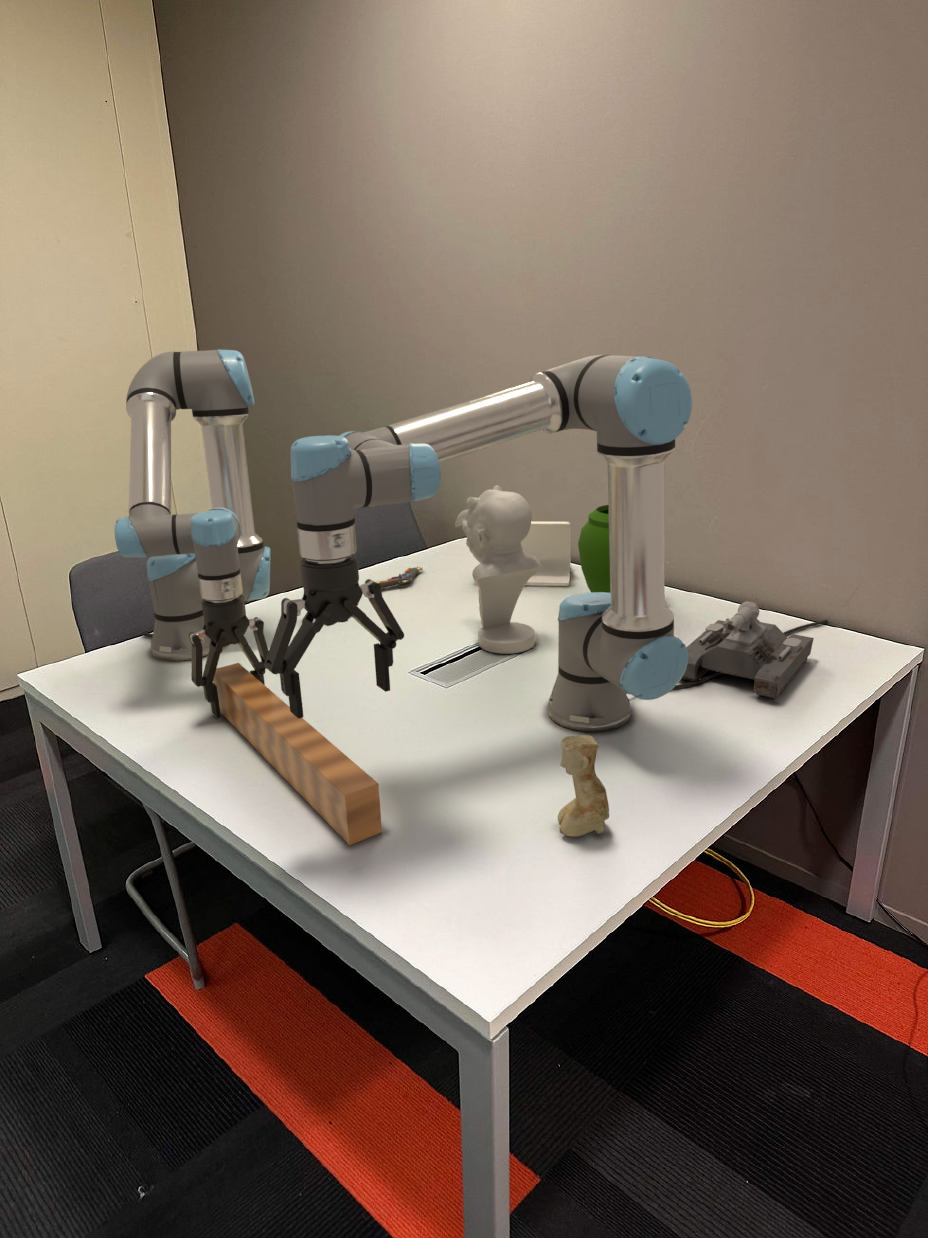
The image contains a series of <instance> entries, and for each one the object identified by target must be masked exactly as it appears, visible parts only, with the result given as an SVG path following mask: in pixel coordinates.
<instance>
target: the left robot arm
mask: <svg viewBox="0 0 928 1238" xmlns="http://www.w3.org/2000/svg"><path fill="white" fill-rule="evenodd" d="M249 374H250V373H249V370H248V367H247V364H246V360H245V357H244V355H243V354H242V352H240V351H238V350H237V349H236V350H235V349H220V348H218V349H209V350H208V349H207V350H189V351H188V350H187V351H166V352H161V353H159V354H157V355H155V356H153V357H152V358H150V359H149V360H148V361H146V362H145V363H144V364H143V365H142V366H141V367H140V368H139V370H138V371H137V372H136V374H135V375H134V376H133V378H132V379H131V382H130V384H129V386H128V389H127V393H126V402H125V404H126V405H125V410H126V414H127V416H129V418H130V446H129V447H130V451H129V485H128V516H125V517H121V518H120V517H119V518H118V519H117V520H116V521H115V524H114V541H115V546H116V548H117V551H118V553H119V554H120V556H121V557H123V558H125V559H147V558H148V559H147V561H146V572H147V573H146V574H147V578H146V579H147V581H148V586H149V591H150V598H151V603H152V609H153V615H154V626H153V631H152V633H150V632H146V631H143V632H142V636H143V637H146V638H150V639H151V642H150V650H151V654H152V656H153V657H154V658H156V659H158V660H162V661H169V662H181V661H190V660H191V682H192V683H193V684H194V685H195V686H196V687H197V688H200V687H203V695H204V699H205V700H206V701H207V702H208V703H210V706H211V713H212V715H213V716H214V717H215V718H216V719H221V718H222V713H221V712H220V706H219V699H218V692H217V686H216V685H215V684H214V683H213V679H214V676H215V672H216V669H217V668H218V665H219V661H220V660H219V659H220V656H221V654H222V653H223V649H224V648H226V647H228V646H230V645H239V647H240V649H241V650H242V652H243V653H244V655H245V657H246V659H247V660H248V661H249V663H250V665H251V667H252V668H253V669H252V670H249V672H250V673H251V674H252V675H253V676H254V677H255V678H257V679H258V680H259V681H260V682H261V683H262V684H264V685H265V686H266V683H265V676H264V675H265V674H266V670H267V668H265V666H264V663H265V660H266V658H267V655H268V652H269V647H268V643H267V641H266V636H265V633H264V629H265V628H264V627H265V622H264V620H262V619H261V618H259V617H257V616H255V617H254V618H249V617H247V610H246V603H245V602H251V601H255V600H262V599H265V598H267V597H268V595H269V593H270V587H271V585H270V584H271V562H272V561H271V560H272V559H271V557H272V556H271V555H272V554H271V551H272V549H271V547H269V546H266V545H265V546H264V539H263V538H262V537H261V536H260V535H259V534H257V533H256V528H255V520H254V519H255V518H254V511H253V503H252V502H253V501H252V495H251V494H252V493H251V484H250V475H249V466H248V458H247V450H246V442H245V441H246V439H245V432H244V422H245V420H247V418H248V417H249V416H250V412H249V408H251V407H253V406H255V397H254V391H253V388H252V387H253V386H252V382H251V379H250V375H249ZM177 410H191V415H192V419H193V420H195V422H197V423H198V424H199V425H200V426H201V433H202V435H201V436H202V442H203V451H204V457H205V465H206V473H207V481H208V490H209V498H210V504H211V509H208V510H205V511H201V512H193V513H192V512H191V513H180V514H179V513H178V514H177V513H176V514H172V421H174V420H175V418H176V415H177ZM249 628H250V630H252V633H253V637H254V640H255V645H256V647H257V650H258V654H259V658H260V660H259V659H258V657H257V654H255V652H254V650H253V649H252V647H251V645H250V644H249V642H248V639H247V638H246V636H245V635H246V633H247V630H248V629H249ZM206 656H207V658H206V661H205V665H204V669H203V663H204V662H203V661H204V660H203V658H204V657H206Z"/></svg>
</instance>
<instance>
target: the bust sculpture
mask: <svg viewBox="0 0 928 1238" xmlns="http://www.w3.org/2000/svg"><path fill="white" fill-rule="evenodd" d="M466 507H467V508H466V509H464V510H462V511H460V512H459V513H458V515H457V518H456V520H455V522H454V527H455V528H459V527H461V526H462V527H461V528H462V531H463V533H465V536H466V542H465V543H466V546H467V548H468V549H469V552H470V553H471V554H472V556H473V558H474V559H475V560H476V561H477V562H479V564H477V565H476V566H474V568H473V570H472V578H473V580H474V582H475V584H476V586H477V587H478V609H479V617H480V621H481V627H480V629H478V632H477V633H478V641H477V642H478V646H479V647H480V648H481V649H482V650H484V651H487V652H490V653H493V654H494V653H495V654H503V655H504V654H505V655H506V654H507V655H508V654H517V653H522V652H525V651H528V650H530V649H532V648H533V647H534V646H535V643H536V637H535V636H536V632H535V629H534V628H533V627H531V625H527V624H525V623H520V622H513V621H511V620H512V617H513V613H514V611H515V608H516V605H517V602H518V600H519V598H520V596H521V593H522V591H523V589H524V588H525V586H526V585H525V584H526V583H527V581H528V580H529V579H530V578H531V577H532V576H533V574H535V573H536V572H537V571H538V570H539V569H540V568H541V567H542V566H541V564H540V562H539V560H538V559H537V558H536V557H535V556H533V555H530V554H524V553H523V550H522V547H521V544H520V543H521V541H522V540H523V539H524V538H525V537H526V536H527V534H528V532H529V530H530V526H531V521H533V512H532V508H531V506H530V504H529V503H528V501H527V500H526V499H525V497H523V496H522V495H521V494H520V493H518V492H514V491H506V490H504V491H503V488H502V487H501V486H500V485H494V486H493V487H492V489H486V490H485V491H483V492H482V493H481V494H480V495H479V496H478V497H473V496H469V497H468V498H467V499H466Z"/></svg>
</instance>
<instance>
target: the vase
mask: <svg viewBox="0 0 928 1238" xmlns="http://www.w3.org/2000/svg"><path fill="white" fill-rule="evenodd" d="M587 516H588V517H587V518H588V521H587V522H586V523H585V524H584V525H583V526H582V527H581V529H580V534H579V538H578V541H577V546H578V554H579V562H580V569H581V571H582V574H583V577H584V580H585V583H586V585H587V588H588V590H589V592H590V593H592V592H606V593H610V548H609V504H604V505H601V506H598V507H597V508H595V509H594V510H592V511H591V512H590V513H589V514H588V515H587Z"/></svg>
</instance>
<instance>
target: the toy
mask: <svg viewBox="0 0 928 1238" xmlns="http://www.w3.org/2000/svg"><path fill="white" fill-rule="evenodd" d="M759 607H760V606H759V605H757V604H756V602H754V601H748V600H745V601H744V602H742V603H740V604H739V606H738V608H737V612H736V613H734V615H733V616H732V617H731V618H729V617H727V618H725V620H722V619H718V620H716V621H715V622H714V623H710V624H709V625H708V626H706V627H705V631H703V632H702V633H701V634H700V635H699V636H697V638H695V639H694V640H693V641H692V642H691V643H690V644H688V645H687V646H686V648H687V650H688V664H687V668H686V671H685V673H684V675H683V677H682V678H681V680H686V681H689V682H693V681H696V680H699V679H702V678H703V676H705V674H706V673H707V672H709V671H712V672H715V673H716V672H720V673H722V674H726V675H730V676H734V677H739V678H745V679H748V680H754V682H753V692H752V693H753V694H755V695H757V696H762V697H764V698H765V697H766V698H769V699H770V698H771V699H775V700H777V698H778V697H779V696H780V695H781V694H782V692H783V691H784V690H785V688H787V686H788V685H789V684H790V682H791V681H792V680H793V679H794V678H795V676H796V675H797V674H798V672H800V670H801V669H802V668H803V666H804V665H805V664H806V663H807V661H808V658H809V656H810V655H811V653H812V648H813V644H814V637H810V636H806V635H801V634H795V633H790V634H791V635H789V637H788V636H786V635H785V634H784V631H783V630H781V629H780V628H779V627H778V626H777V625H776V624H773V623H768V622H763V621H760V620H759V619H758V618H759V615H760V608H759Z"/></svg>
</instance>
